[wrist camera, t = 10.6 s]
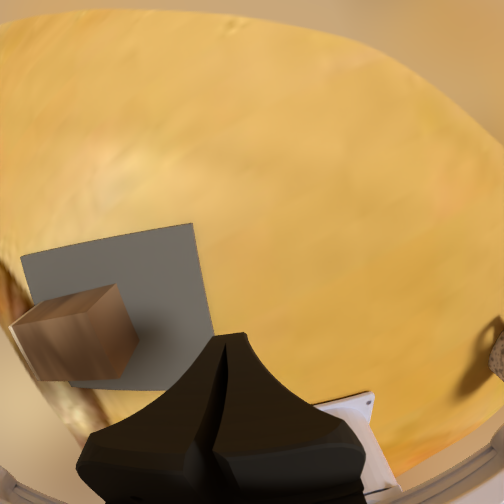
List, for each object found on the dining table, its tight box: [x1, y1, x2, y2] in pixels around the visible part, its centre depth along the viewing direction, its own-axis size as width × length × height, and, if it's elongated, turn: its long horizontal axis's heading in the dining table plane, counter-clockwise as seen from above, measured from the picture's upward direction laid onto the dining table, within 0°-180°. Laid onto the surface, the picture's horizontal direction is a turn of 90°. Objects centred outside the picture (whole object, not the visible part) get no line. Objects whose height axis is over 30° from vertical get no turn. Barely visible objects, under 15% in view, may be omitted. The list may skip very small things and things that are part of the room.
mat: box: [20, 223, 215, 391], centre depth 16 cm, size 11×13×1 cm
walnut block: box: [8, 283, 140, 381], centre depth 14 cm, size 4×4×7 cm
